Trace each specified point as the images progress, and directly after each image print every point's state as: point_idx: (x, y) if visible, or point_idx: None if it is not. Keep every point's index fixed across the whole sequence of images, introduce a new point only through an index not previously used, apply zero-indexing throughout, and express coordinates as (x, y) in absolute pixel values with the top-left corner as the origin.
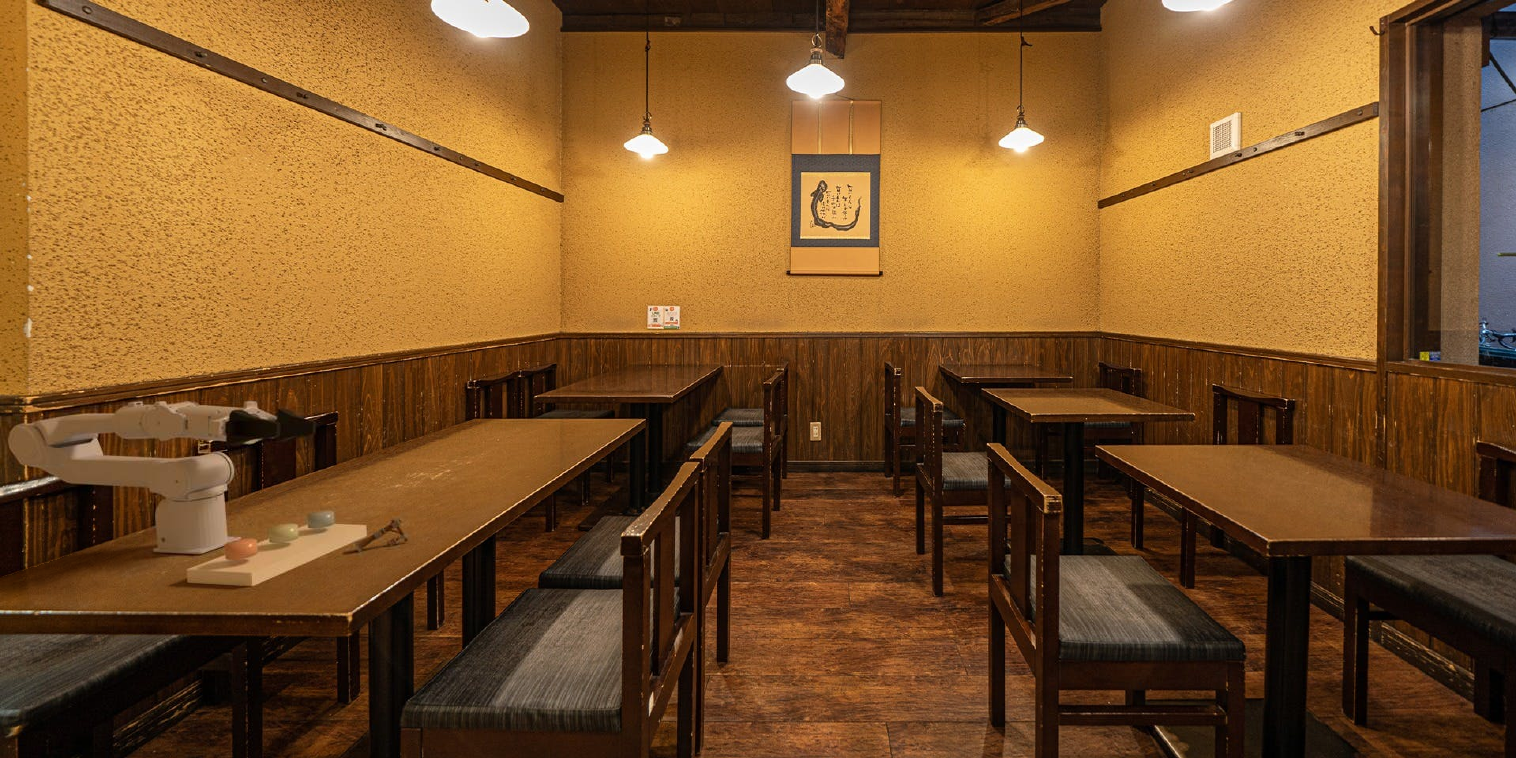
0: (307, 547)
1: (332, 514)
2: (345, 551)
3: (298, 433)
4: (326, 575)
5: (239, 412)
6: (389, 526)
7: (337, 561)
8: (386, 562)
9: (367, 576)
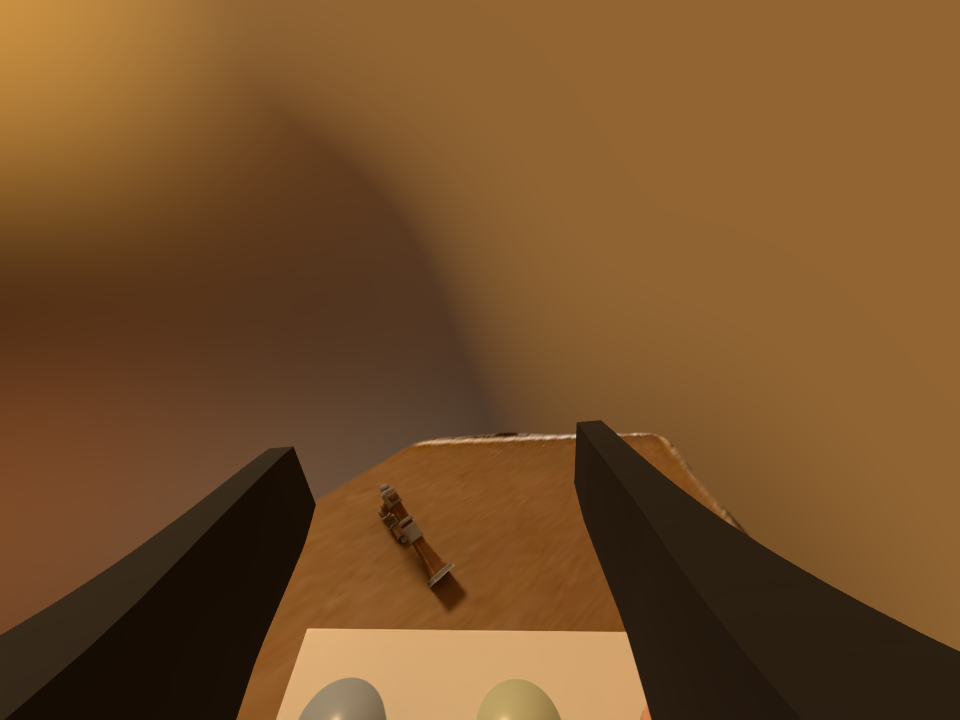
0: (517, 645)
1: (342, 681)
2: (443, 609)
3: (263, 613)
4: (578, 541)
5: (939, 675)
6: (402, 505)
7: (508, 576)
8: (496, 488)
9: (558, 479)
